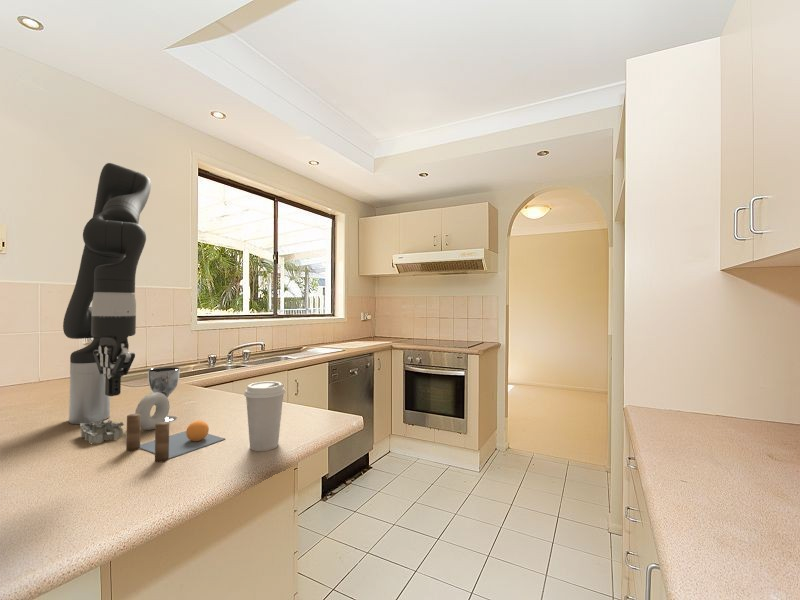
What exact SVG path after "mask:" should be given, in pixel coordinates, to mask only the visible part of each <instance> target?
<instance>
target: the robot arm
mask: <svg viewBox="0 0 800 600" xmlns="http://www.w3.org/2000/svg"><path fill="white" fill-rule="evenodd" d="M151 186H152V182H151V179H150V177H149V176H147V175H146V174H144V173H142V172H139V171H135V170H133V169H130V168H127V167H124V166H121V165H118V164H115V163H111V162H107V163H105V164H104V166H103V167H102V169H101V172H100V175H99V179H98V185H97V190H96V196H95V203H94V207H93V208H94V209H93V213H92V218H90V219H89V220H87V222H86V224H85V226H84V228H83V230H82V239H83V243H84V247H83V250H82V255H81V260H80V264H79V270H78V273H77V279H76V282H75V285H74V289H73V292H72V294H71V297H70V299H69V301H68V304H67V308H66V310H65V314H64V317H63V323H62V329H63V333H64V336H65V337H67V338H68V339H74V340H75V339H76V340H78V339H79V340H81V339H92V342H90V343H89V344H87V345H86V346H84V347H82V348H80V349H77V350H75V351H73V352H71V354H70V361H69V362H70V363H69V364H70V365H69V399H68V400H69V401H68V402H69V405H68V406H69V407H68V410H69V411H68V423H69V424H71V425H72V424H73V425H80V423H90V422H100V421H102V420H103V421H104V420H106V419H108V418H110V415H111V414H110V410H111V397H116V396H120V395H121V387H122V385H121V384H122V383H121V382H122V380H121V379H122V377H123V376H126V375H128V373H129V371H130V369H131V366H132V365H133V362H134V360H135V358H136V354H135V352H130V351H129V347H130V346H129V344H130V343H129V340H128V338H129V337H132V336H133V337H134V336H135V335H136V332H137V331H136V327H137V300H136V274H137V268H138V264H139V260H140V257H141V255H142V253H143V250H144V248H145V246H146V245H145V244H146V241H147V234H146V232H145V230H144V228H143V227H142V225H140V224H139V221H140V215H141V214H142V211H143V210H144V208H145V207H146V205H147V202H148V199H149V196H150V194H151V188H152V187H151Z"/></svg>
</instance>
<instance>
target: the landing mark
mask: <svg viewBox="0 0 800 600" xmlns="http://www.w3.org/2000/svg"><path fill="white" fill-rule="evenodd" d="M224 440H226V438H224V437H220V436H219V435H218V436H217V435H215V434H210V433H208V434H207V436H206V437H205V438H204V439H203V440H201V441H191V440H190V439H188V437H187V435H186V430H185V431H182V432H179V433H174V434H171V435H169V459H168V460H170V458H171V459H173V458H175V457H178V456H182V455H185V454H188V453H191V452H193V451H197V450H199V449H201V448H205V447H208V446H210V445H213V444H216V443H218V442H222V441H224ZM139 449H141V450H144V451H146V452H149V453H151V454H154V455H155V439H154V440H151V441H147V442H145V443H140V448H139Z"/></svg>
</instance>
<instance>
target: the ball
mask: <svg viewBox="0 0 800 600" xmlns="http://www.w3.org/2000/svg"><path fill="white" fill-rule="evenodd" d="M209 430H210V429H209V424H208V423H207V422H206V421H203V420H194V421H193V422H191V423H190V424H189V425H188V426H187V428H186V430H185V431H186V435H187V437H188V439H190V440H191V441H201V440H203V439H204V438H205V437H206V436H207V434H209V432H210V431H209Z"/></svg>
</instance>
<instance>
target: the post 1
mask: <svg viewBox="0 0 800 600" xmlns="http://www.w3.org/2000/svg"><path fill="white" fill-rule="evenodd" d="M125 444H126V445H125V446H126V447H125V448H126V451H127V452H134V451H138V450H139V449H140V445H141V427H140V414H135V413H131V414H128V415H126V443H125Z"/></svg>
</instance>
